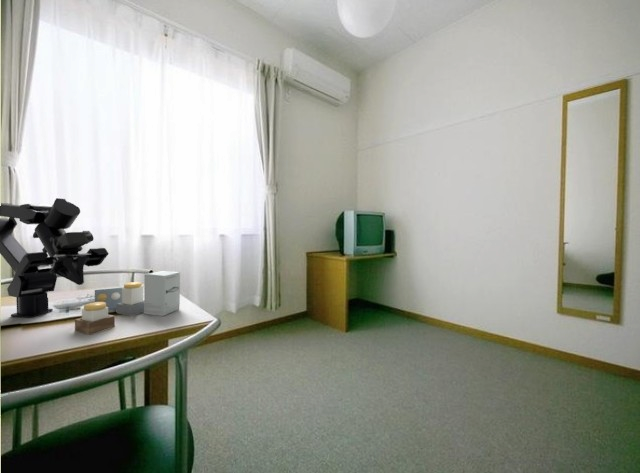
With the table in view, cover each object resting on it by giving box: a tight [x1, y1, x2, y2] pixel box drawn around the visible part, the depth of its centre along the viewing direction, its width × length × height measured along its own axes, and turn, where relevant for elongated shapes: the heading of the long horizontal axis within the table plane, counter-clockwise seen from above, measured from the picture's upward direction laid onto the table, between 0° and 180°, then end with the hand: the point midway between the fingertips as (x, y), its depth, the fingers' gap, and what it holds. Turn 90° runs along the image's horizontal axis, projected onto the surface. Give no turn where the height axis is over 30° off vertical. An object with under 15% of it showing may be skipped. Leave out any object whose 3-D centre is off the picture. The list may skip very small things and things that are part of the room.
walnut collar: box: [74, 314, 116, 336], centre depth 75 cm, size 6×6×3 cm
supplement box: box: [143, 270, 181, 317], centre depth 90 cm, size 7×7×13 cm
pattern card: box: [94, 286, 123, 312], centre depth 90 cm, size 2×7×7 cm, turn 126°
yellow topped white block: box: [121, 281, 144, 305], centre depth 89 cm, size 5×5×6 cm
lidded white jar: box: [81, 301, 109, 322], centre depth 75 cm, size 5×5×6 cm
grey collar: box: [116, 299, 144, 317], centre depth 89 cm, size 6×6×3 cm
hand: (81, 283), depth 76 cm, fingers closed
